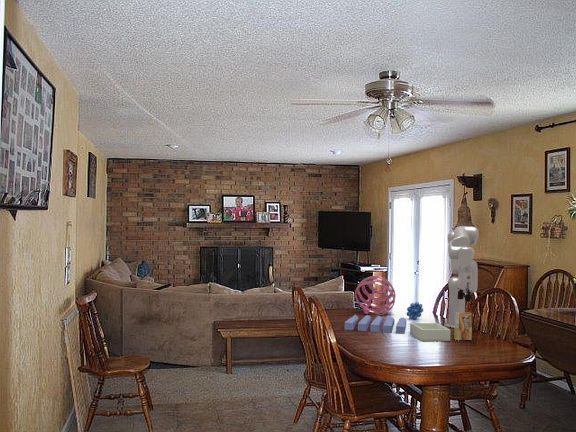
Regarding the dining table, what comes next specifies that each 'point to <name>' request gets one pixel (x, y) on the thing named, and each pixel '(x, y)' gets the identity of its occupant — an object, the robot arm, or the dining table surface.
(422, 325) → the crate
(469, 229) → the robot arm
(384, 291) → the pink lattice ball
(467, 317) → the candy box
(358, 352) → the dining table surface
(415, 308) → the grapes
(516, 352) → the dining table surface
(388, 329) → the blocks
